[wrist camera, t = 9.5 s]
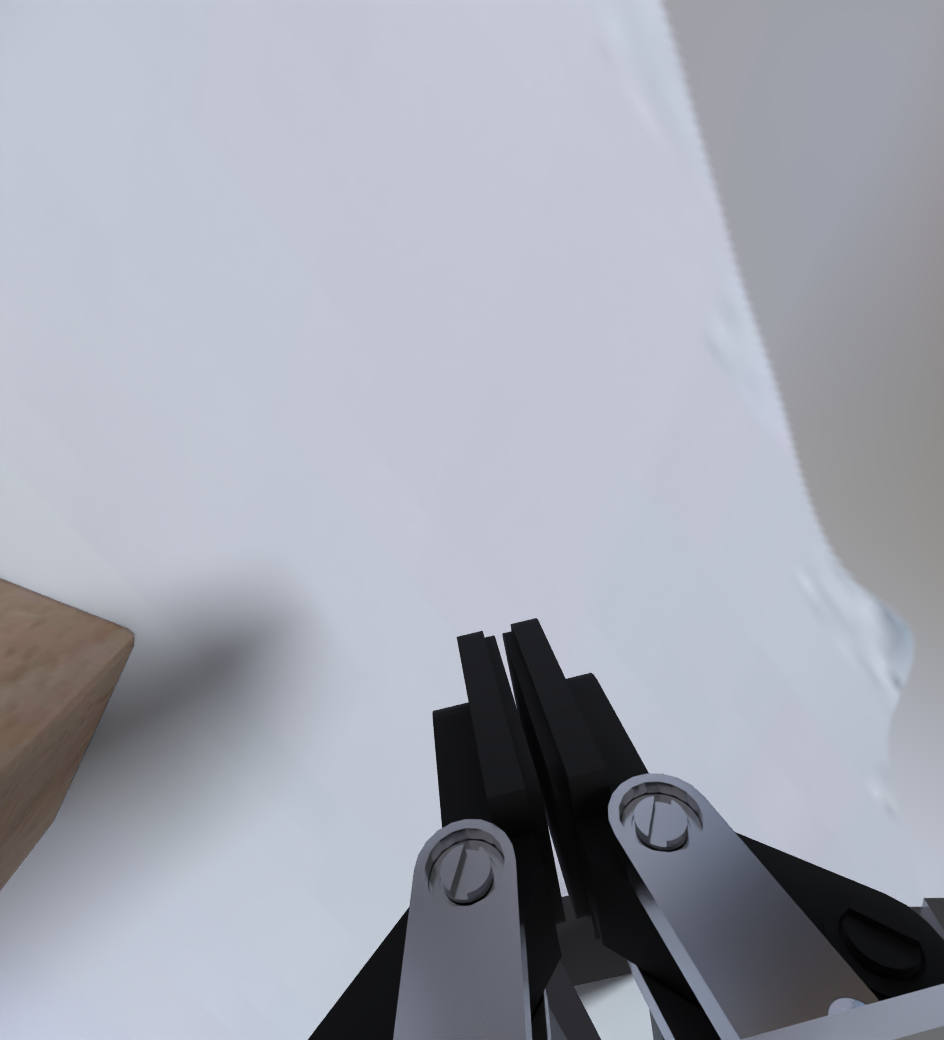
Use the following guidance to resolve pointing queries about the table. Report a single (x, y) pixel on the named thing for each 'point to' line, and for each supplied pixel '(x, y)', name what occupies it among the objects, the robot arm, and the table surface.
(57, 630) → the wooden block
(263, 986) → the table surface
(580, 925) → the phone stand
